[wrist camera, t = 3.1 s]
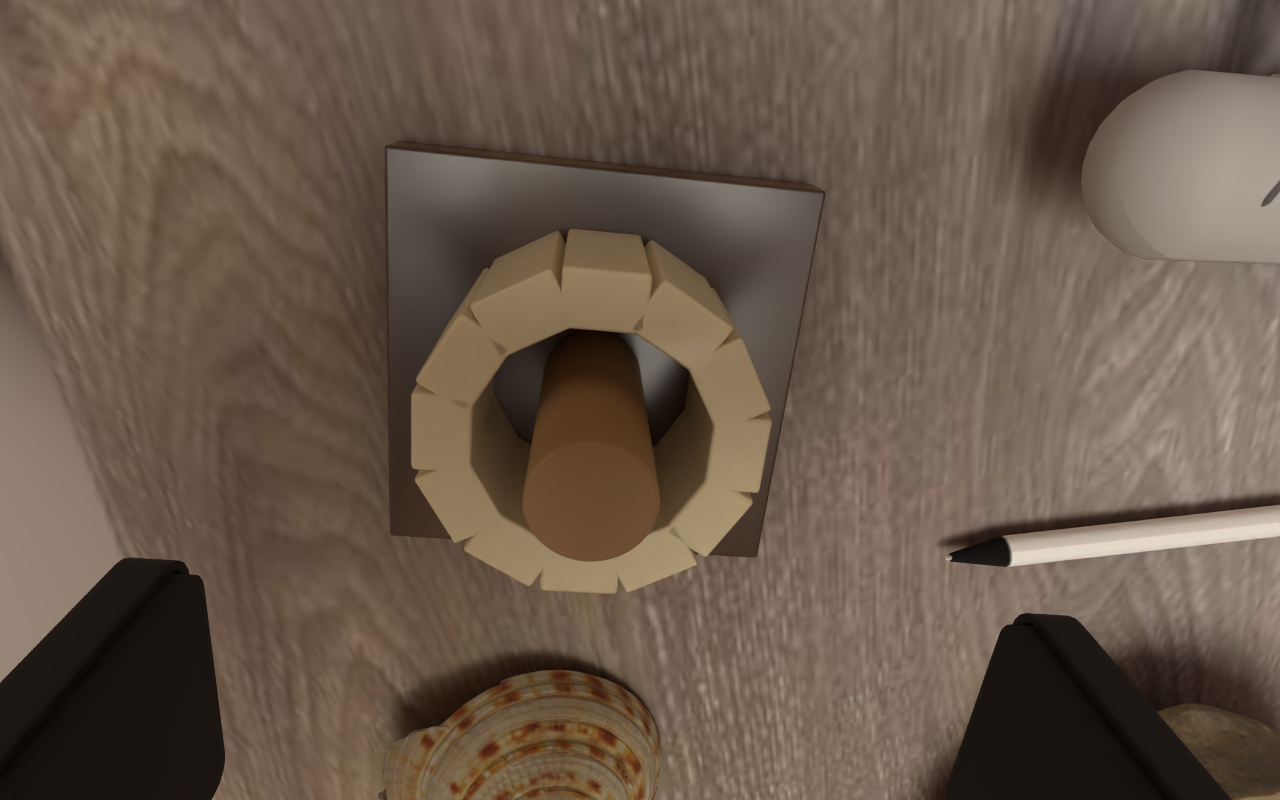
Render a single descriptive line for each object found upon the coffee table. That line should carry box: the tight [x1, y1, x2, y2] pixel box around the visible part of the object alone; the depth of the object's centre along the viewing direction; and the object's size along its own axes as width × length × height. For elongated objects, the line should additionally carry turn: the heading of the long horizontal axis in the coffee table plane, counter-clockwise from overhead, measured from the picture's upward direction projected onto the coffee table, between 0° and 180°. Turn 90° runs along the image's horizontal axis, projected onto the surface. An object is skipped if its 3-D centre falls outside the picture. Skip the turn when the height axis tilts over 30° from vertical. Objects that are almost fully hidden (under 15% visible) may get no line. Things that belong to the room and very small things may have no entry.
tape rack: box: [385, 142, 825, 562], centre depth 17 cm, size 10×10×8 cm
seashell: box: [378, 670, 661, 800], centre depth 25 cm, size 8×6×8 cm
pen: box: [944, 505, 1280, 567], centre depth 23 cm, size 1×19×1 cm, turn 95°
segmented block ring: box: [411, 229, 772, 594], centre depth 18 cm, size 7×7×4 cm
